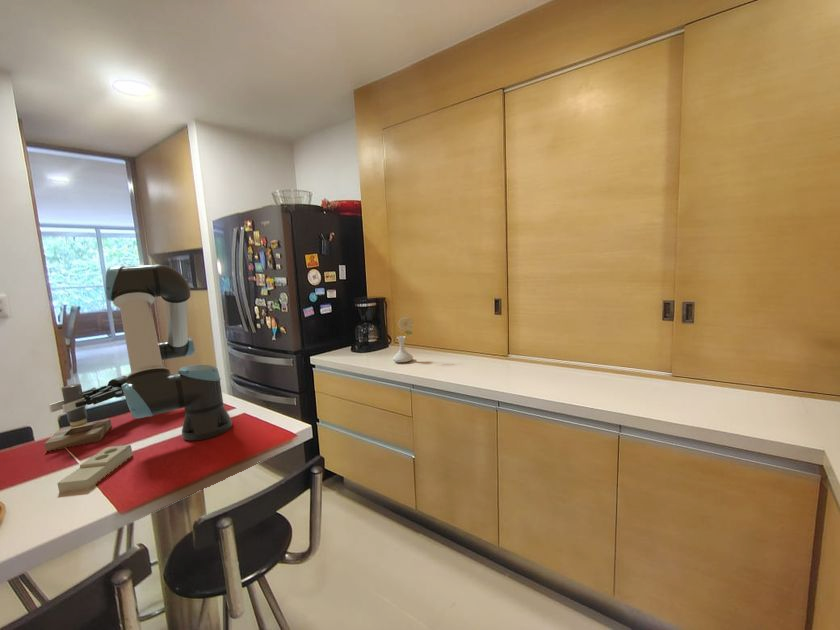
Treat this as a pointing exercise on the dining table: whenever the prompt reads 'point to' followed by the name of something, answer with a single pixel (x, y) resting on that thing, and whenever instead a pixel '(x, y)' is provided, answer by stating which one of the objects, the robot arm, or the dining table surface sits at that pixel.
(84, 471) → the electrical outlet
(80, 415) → the plug
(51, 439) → the socket plate
